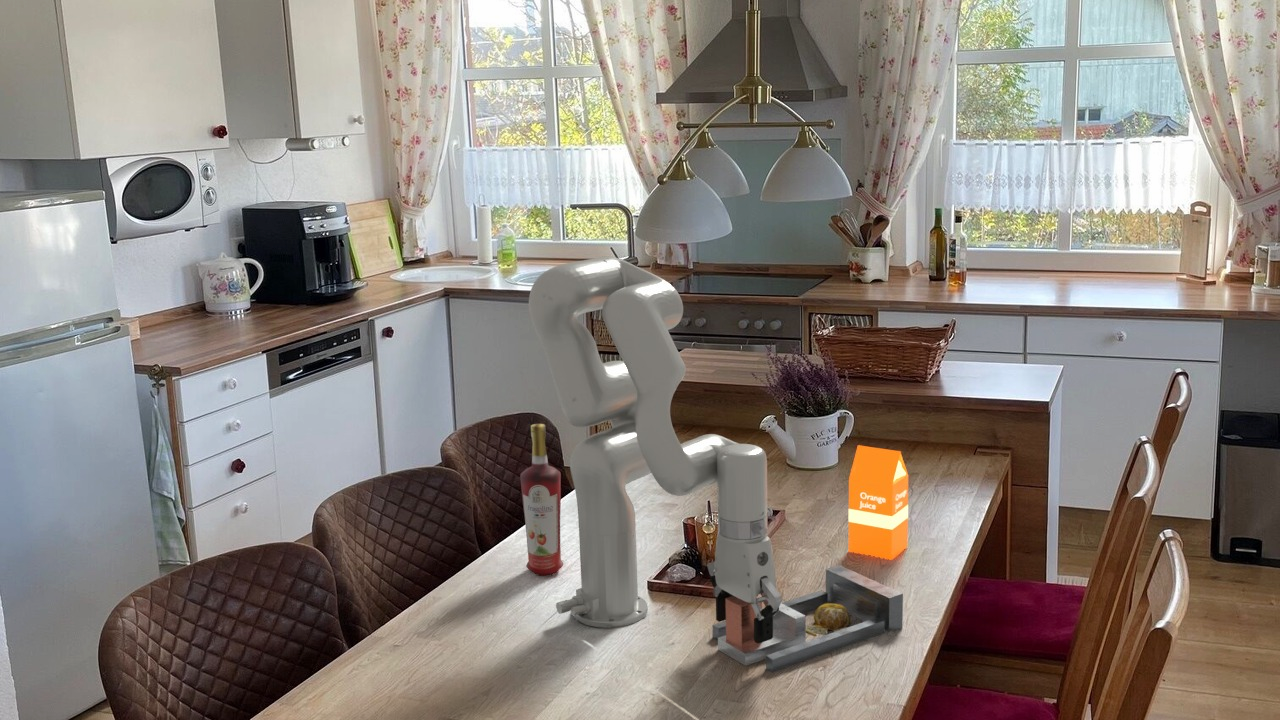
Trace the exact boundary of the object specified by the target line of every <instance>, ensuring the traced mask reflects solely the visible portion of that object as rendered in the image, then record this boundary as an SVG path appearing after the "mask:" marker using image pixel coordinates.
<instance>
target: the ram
mask: <svg viewBox="0 0 1280 720" xmlns="http://www.w3.org/2000/svg"><path fill="white" fill-rule="evenodd" d="M782 603H783V602H781V604H780V606H779V610H778V611H777V612H776V614H775V616H773V638H772V639H770V640H767V641H765V642H762V643H759V644H757V643H756V642H755V641H754V618H757V616H756V614H755V612H754V609H753V607H752V605H751V604H749V603H747V602H745V601H743V600H741V599H739V598H737V597H735V596H732V597H729V598H726V620H725V621H726V635H725V636H722V637H719V638H718V640H717V650H718V651H720V652H722V653H723V654H725V655H726V656H727V657H730V658H732V659H733V660H735V661H737V662H738V663H740V664H742V665H743V666H745V667H747V666H749V665H752V664H756V663H758V662H762V661H763V660H766V656H767V655H769V654H772V653H775V652H778V651H781V650H784V649H787V648H790V647H793V646H796V645H798V644H801V643H804V642H807V641H806V640H807V637H806V634H807V632H806V628H807V625H806V623H807V622H806V615H805V614H804V613H802V614H801V613H799V612H797V611H796V610H794V609H792V608H790V607H788V606H786V605H784V604H782ZM759 605H760V607H761V609H763V602H761V603H759Z"/></svg>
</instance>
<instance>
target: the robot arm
mask: <svg viewBox="0 0 1280 720" xmlns="http://www.w3.org/2000/svg"><path fill="white" fill-rule="evenodd" d="M599 310H601V314H602V319H603V321H604V325H605V327H606V329H607V332H608V334H609V336H610V337H611V339H612V341H613V344H614V345H615V348H616V350H617V352H618V353H619V356H620V357H621V360H610V361H607V362H606V361H605V362H603V361H602V359H601V357H600V354H599V349H598V346H597V342H596V341H595V339H594V336H593V335H592V333H591V331H589V329H588V327H586V325H584V323H583V322H581V321H580V320H579V319H578V317H579V316H580V315H582V314H585V313H590V312H594V311H599ZM528 312H529V317H530V320H531V323H532V325H533V328H534V331H535V333H536V336H537V338H538V339H539V341H540V344H541V346H542V350H544V354H545V357H546V360H547V364H548V368H549V371H550V374H551V377H552V381H553V385H554V388H555V391H556V394H557V398H558V401H559V404H560V407H561V409H562V412H563V415H564V417H565V419H566V420H567V422H568V423H569V424H571V425H572V426H573V427H575V428H589V427H593V426H597V425H600V424H602V423H607V422H609V423H610V425H611V428H608V429H606V430H603V431H600V432H597V433H594V434H592V435H590V436H588V437H586V438H584V439H582V440H581V441H580V442H579V443H577V445H576V446H574V448H573V450H572V452H571V455H570V459H569V469H570V475H571V478H572V483H573V486H574V490H575V496H576V503H577V518H578V521H577V523H578V536H579V537H578V538H579V556H580V559H579V560H580V563H579V564H580V581H581V582H580V583H581V584H580V585H581V588H576V589H575V595H573V596H572V598H571V599H565V600H561V601H557V602H556V603H555V608H556V611H557V613H558V614H560V615H561V614H565V613H568V612H570V613H571V615H572V616H574V618H575V619H576V620H577V622H580V623H581V624H584V625H586V626H590V627H595V628H604V629H605V628H606V629H607V628H610V629H612V628H620V627H625V626H628V625H633V624H635V623H637V622H639V621H641V620H643V619H644V618H645V617H646V616H647V614H648V608H649V607H648V603H647V602H646V600H645V599H644V598H643V597H640V596H639V592H638V591H639V589H638V588H639V587H638V562H637V561H638V560H637V558H638V557H637V533H636V532H637V531H636V525H637V524H636V512H635V507H634V503H633V502H632V500H631V498H630V496H629V495H628V493H627V490H626V485H628V484H630V483H632V482H634V481H636V480H639V479H641V478H644V477H646V476H648V475H652V476H653V479H654V480H655V481H656V483H657V484H658V485H659V487H660V488H662V490H664V491H665V492H666V493H667V494H670V495H671V496H676V497H681V496H683V497H684V496H687V495H690V494H692V493H695V492H697V491H699V490H701V489H703V488H706V487H708V486H711V485H715V484H717V533H716V540H715V541H716V543H715V552H714V561H713V562H712V561H711V562H709V563H707V570H708V573H709V575H710V578H709V579H710V580H709V581H710V582H711V584H712V585H711V586H712V588H713V590H712V591H713V592H712V593H713V596H714V597H715V620H716V621H717V622H718V623H720V622H723V621H726V598H729V597H732V596H735V597H737V598H739V599H741V600H743V601H745V602H747V603H749V604H751V605H752V607H753V609H754V612H755V614H756V616H757V618H754V641H755V642H756V643H757V644H759V643H762V642H765V641H767V640H770V639H772V638H773V616H775V614H776V612H777V611H778V610H779V606H780V604H781V603H782V601H783V597H782V595H781V593H780V592H779V591H778V590H777V585H776V583H777V581H776V578H777V577H776V569H775V567H776V565H775V556H774V550H773V546H772V541H771V538H770V537H769V536H768V460H767V459H768V458H767V457H768V456H767V454H766V451H765V450H764V449H763V448H762V447H760V446H758V445H754V444H750V443H749V444H748V443H738V442H736V441H733V440H731V439H729V438H726V437H724V436H722V435H719V434H715V433H709V434H703V435H700V436H698V437H696V438H693V439H690V440H687V441H684V442H682V443H681V442H680V440H679V439H678V436H677V435H676V434H677V433H676V432H675V429H674V427H673V424H672V418H671V405H672V404H671V403H672V400H673V397H674V394H675V392H676V390H677V388H678V386H679V384H680V383H681V382H682V381H683V379H684V377H685V375H686V373H687V372H686V371H687V367H686V364H685V363H684V360H683V359H682V357H681V355H680V353H679V350H678V349H677V347H676V346H677V345H676V344H675V342H674V340H673V338H672V335H671V334H670V332H669V330H672V329H674V328H675V327H676V326H678V324H679V323H680V322H681V320H682V318H683V316H684V315H683V314H684V305H683V300H682V298H681V296H680V294H679V292H678V290H677V289H676V288H675V287H674V286H673V285H672V284H671V283H669V282H668V281H666V280H665V279H664V278H661V277H660V276H657V275H656V274H653V273H652V272H650V271H648V270H645V269H643V268H641V267H638V266H637V265H636V264H635V265H634V264H632V263H631V262H628V261H626V260H625V259H621V258H619V257H614V256H601V257H594V258H589V259H584V260H577V261H572V262H568V263H567V262H566V263H563V264H559V265H557V266H553V267H552V268H549V269H547V270H546V271H544V272H543V273H541V274H540V275H539V276H538V277H536V279H535V281H534V282H533V284H532V286H531V289H530V293H529V296H528ZM759 595H761V596H759ZM758 596H759V597H758ZM761 602H762V603H763V605H764V608H762V609H763V610H762V609H761V607H760V605H759V603H761Z"/></svg>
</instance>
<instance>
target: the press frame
mask: <svg viewBox="0 0 1280 720" xmlns="http://www.w3.org/2000/svg"><path fill="white" fill-rule="evenodd" d="M781 603H782V604H784V605H786V606H788V607H790V608H792V609H794V610H796V611H797V612H799V613H801V614H805V613H808V612H810V611H814V610H817V609H818V607H820V606H821V605H823V604H826V603H828V604H829V603H832V604H839V605H842V606H844V607H845V608H846V609H847V611H848V613H849V616H850V615H851V616H852V617H853V618H856V619H858V620H860V621H862V622H860V623H857V624H854V625H851V626H847V627H848V628H845V629H842V630H839V631H836V632H834V631H832V632H830V633H828V634H827V635H825V634H824V635H821V636H819V637H817V638H813V639H810V640H807V641H806V642H804V643H801V644H798V645H796V646H793V647H790V648H787V649H784V650H781V651H778V652H775V653H772V654H769V655H767V656H766V659H765V669H766V670H767V671H769V672H771V673H776V672H778V671H781V670H784V669H786V668H790V667H792V666H795V665H798V664H801V663H804V662H806V661H809V660H812V659H815V658H818V657H821V656H824V655H826V654H829V653H832V652H835V651H838V650H840V649H843V648H846V647H849V646H852V645H854V644H857V643H860V642H863V641H867V640H869V639H871V638H874V637H877V636H880V635H883V634H885V631H887V632H890V631H898V630H902V629H903V619H904V618H903V617H904V616H903V615H904V614H903V611H904V609H903V608H904V607H903V606H904V605H903V604H904V593H902V592H901V591H898V590H897V589H894V588H891V587H890V586H887V585H884V584H882V583H881V582H878V581H876V580H874V579H871V578H869V577H867V576H865V575H862V574H860V573H858V572H855V571H854V570H851V569H850V568H846V567H844V566H842V565H840V564H839V565H835V566H831V567H829V568H826V569H825V591H824V590H818V591H816V592H811V593H809V594H805V595H802V596H799V597H796V598H793V599H789V600H787V601H783V602H781ZM763 609H764V608H762V610H763ZM725 635H726V620H724V621H721V622H718V623H714V624H712V638H714V640H716V641H718V638H719V637H722V636H725Z"/></svg>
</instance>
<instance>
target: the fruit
mask: <svg viewBox="0 0 1280 720" xmlns="http://www.w3.org/2000/svg"><path fill="white" fill-rule="evenodd" d="M850 618H851V617H850V614H849V613H848V611H847V609H846V608H845V607H844V606H842V605H839V604H832V603H830V602H828V603H826V604H823V605H821V606H820V607H818V608H817V609H815V612H814V616H813V619H814V625H808V626H806V634H807V633H808V634H809V635H811V636H814V637H817V634H818V635H819V634H820V635H824V636H825V635H827V634H829V633H828V631H833V632H836V631H839V630H842V629H845V628H848V627H849V625H850V624H851V621H850V620H851V619H850Z"/></svg>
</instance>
